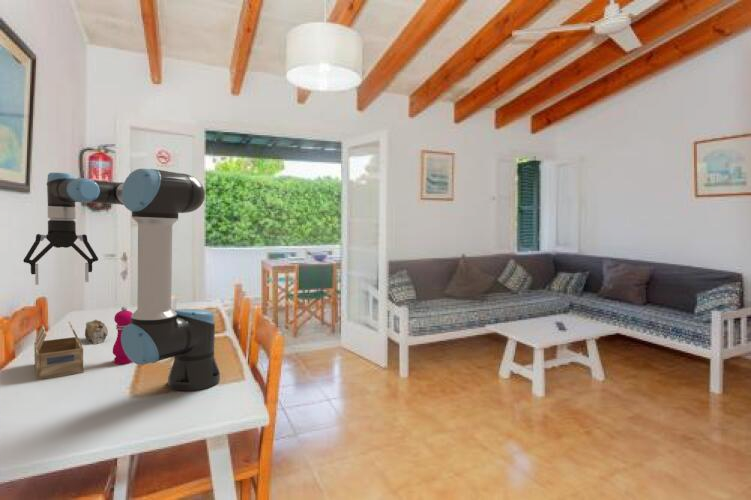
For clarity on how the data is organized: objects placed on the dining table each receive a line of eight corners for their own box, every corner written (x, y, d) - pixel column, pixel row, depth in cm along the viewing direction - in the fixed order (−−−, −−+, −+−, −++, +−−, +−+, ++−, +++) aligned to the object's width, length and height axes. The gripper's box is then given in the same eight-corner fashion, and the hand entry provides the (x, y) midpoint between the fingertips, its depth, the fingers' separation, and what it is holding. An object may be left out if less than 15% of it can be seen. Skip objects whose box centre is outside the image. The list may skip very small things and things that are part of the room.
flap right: (80, 346, 142) (81, 345, 142) (73, 331, 140) (74, 331, 140) (74, 335, 154) (76, 335, 154) (68, 322, 153) (69, 321, 153)
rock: (112, 339, 178) (106, 315, 178) (94, 344, 173) (88, 320, 174) (104, 342, 186) (98, 320, 187) (87, 347, 181) (81, 324, 182)
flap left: (46, 334, 136) (44, 334, 135) (39, 351, 135) (37, 351, 135) (43, 324, 148) (42, 324, 148) (36, 340, 147) (35, 340, 147)
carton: (83, 372, 142) (83, 348, 141) (37, 380, 134) (36, 355, 133) (76, 358, 156) (76, 336, 156) (34, 364, 148) (34, 341, 148)
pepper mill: (125, 365, 149) (125, 308, 148) (107, 364, 151) (107, 307, 150) (140, 359, 157) (140, 305, 155) (123, 357, 158) (123, 303, 157)
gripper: (104, 220, 155) (104, 279, 156) (13, 218, 139) (14, 283, 140) (107, 221, 149) (107, 282, 150) (12, 218, 133) (14, 286, 134)
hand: (62, 283), depth 145 cm, fingers open, 13 cm apart
